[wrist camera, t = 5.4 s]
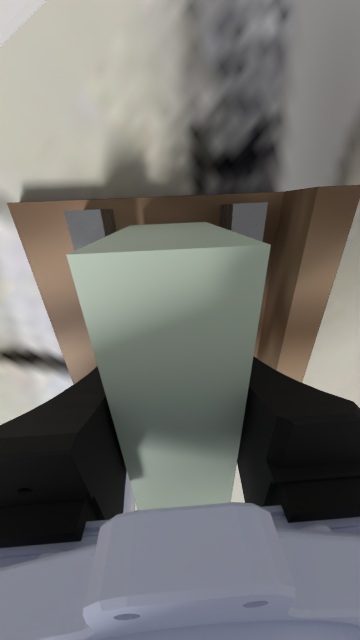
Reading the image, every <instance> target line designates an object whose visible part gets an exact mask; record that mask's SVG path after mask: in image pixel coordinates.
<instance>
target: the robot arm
mask: <svg viewBox="0 0 360 640" xmlns="http://www.w3.org/2000/svg"><path fill="white" fill-rule="evenodd" d="M237 464H238V469H239V474H240V478H241V483H242V489H243V494H244V499H245V503H237V502H231V503H219V504H207V505H195V506H183V507H171V508H159V509H147V510H136V511H135V503H136V501H135V497H134V494H133V490H132V487H131V483H130V480H129V476H128V473H127V469H126V465H125V462H124V458H123V455H122V451H121V448H120V444H119V441H118V437H117V433H116V430H115V426H114V423H113V419H112V416H111V412H110V409H109V405H108V401H107V398H106V394H105V391H104V387H103V384H102V380H101V377H100V373H99V369H98V366H97V367H96V368H95V369H93V370H92V371H91V372H90V373H89V374H87V375H86V376H85V377H83V378H82V379H81V380H80V381H78V382H77V383H75V384H74V385H72V386H71V387H69V388H68V389H66V390H65V391H63V392H62V393H60V394H59V395H57V396H56V397H54V398H52V399H51V400H49V401H47V402H46V403H44V404H42V405H40V406H38V407H36V408H35V409H33V410H31V411H29V412H27V413H25V414H23V415H21V416H19V417H17V418H15V419H13V420H10V421H8V422H6V423H4V424H2V425H0V640H360V408H359V407H358V406H357V405H356V404H355V403H354V402H353V401H350V400H347V399H344V398H341V397H338V396H335V395H332V394H329V393H326V392H323V391H320V390H318V389H315V388H313V387H310V386H308V385H306V384H303V383H301V382H299V381H296V380H294V379H292V378H290V377H288V376H286V375H284V374H282V373H280V372H278V371H277V370H275V369H273V368H271V367H270V366H268V365H266V364H265V363H263V362H262V361H260V360H259V359H257V358H256V357H254V356H253V362H252V369H251V375H250V382H249V388H248V394H247V401H246V407H245V414H244V420H243V426H242V433H241V439H240V446H239V452H238V458H237Z"/></svg>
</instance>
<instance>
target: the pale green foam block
mask: <svg viewBox="0 0 360 640" xmlns="http://www.w3.org/2000/svg"><path fill="white" fill-rule="evenodd" d="M270 247H271V245H270V244H267V243H264V242H261V241H258V240H256V239H253V238H250V237H247V236H244V235H241V234H239V233H236V232H233V231H230V230H227V229H224V228H222V227H219V226H216V225H213V224H210V223H207V222H194V223H171V224H149V225H130V226H128V227H126V228H123V229H121V230H119V231H117V232H115V233H112V234H110V235H108V236H106V237H104V238H102V239H99V240H97V241H95V242H93V243H91V244H88V245H86V246H84V247H82V248H80V249H78V250H75V251H73V252H71V253H69V254H67V255H66V256H67V259H68V263H69V266H70V270H71V273H72V277H73V281H74V284H75V288H76V291H77V295H78V298H79V302H80V305H81V309H82V313H83V316H84V320H85V323H86V327H87V330H88V334H89V337H90V341H91V345H92V348H93V352H94V355H95V359H96V362H97V366H98V369H99V373H100V377H101V380H102V384H103V387H104V391H105V394H106V398H107V401H108V405H109V409H110V412H111V416H112V419H113V423H114V426H115V430H116V433H117V437H118V441H119V444H120V448H121V451H122V455H123V458H124V462H125V465H126V469H127V473H128V476H129V480H130V483H131V487H132V490H133V494H134V497H135V501H136V505H137V508H138V510H147V509H159V508H171V507H183V506H195V505H207V504H219V503H231V497H232V490H233V484H234V478H235V471H236V465H237V458H238V452H239V446H240V439H241V433H242V426H243V420H244V414H245V407H246V401H247V394H248V388H249V382H250V375H251V369H252V362H253V356H254V350H255V343H256V337H257V330H258V324H259V318H260V311H261V305H262V298H263V292H264V286H265V279H266V273H267V266H268V260H269V254H270Z"/></svg>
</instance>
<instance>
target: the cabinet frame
mask: <svg viewBox="0 0 360 640" xmlns="http://www.w3.org/2000/svg"><path fill="white" fill-rule="evenodd" d="M359 199H360V185H351V186H326V187H314V188H307V189H300V190H293V191H286V192H265V193H240V194H215V195H190V196H166V197H141V198H116V199H91V200H67V201H42V202H17V203H7V204H8V207H9V210H10V212H11V215H12V218H13V221H14V223H15V226H16V229H17V231H18V234H19V237H20V240H21V242H22V245H23V248H24V250H25V253H26V256H27V259H28V261H29V264H30V267H31V270H32V272H33V275H34V278H35V280H36V283H37V286H38V289H39V291H40V294H41V297H42V299H43V302H44V305H45V308H46V310H47V313H48V316H49V318H50V321H51V324H52V327H53V329H54V332H55V335H56V338H57V340H58V343H59V346H60V348H61V351H62V354H63V357H64V359H65V362H66V365H67V367H68V370H69V373H70V376H71V378H72V381H73V384H75V383H77V382H78V381H80V380H81V379H82V378H83V377H85V376H86V375H87V374H89V373H90V372H91V371H92V370H93V369H95V368H96V367H97V362H96V359H95V355H94V352H93V348H92V345H91V341H90V337H89V334H88V330H87V327H86V323H85V320H84V316H83V313H82V309H81V305H80V302H79V298H78V295H77V291H76V288H75V284H74V281H73V277H72V273H71V270H70V266H69V263H68V259H67V256H66V255H67V254H69V253H71V252H73V251H75V250H78V249H80V248H82V247H84V246H86V245H88V244H91V243H93V242H95V241H97V240H99V239H102V238H104V237H106V236H108V235H110V234H112V233H115V232H117V231H119V230H121V229H123V228H126V227H128V226H130V225H149V224H171V223H194V222H207V223H210V224H213V225H216V226H219V227H222V228H224V229H227V230H230V231H233V232H236V233H239V234H241V235H244V236H247V237H250V238H253V239H256V240H258V241H261V242H264V243H267V244H270V245H271V247H270V254H269V260H268V266H267V273H266V279H265V286H264V292H263V298H262V305H261V311H260V318H259V324H258V330H257V337H256V343H255V350H254V357H256V358H257V359H259V360H260V361H262V362H263V363H265V364H266V365H268V366H270V367H271V368H273V369H275V370H277V371H278V372H280V373H282V374H284V375H286V376H288V377H290V378H292V379H294V380H296V381H299V382H301V383H302V381H303V378H304V375H305V372H306V368H307V365H308V362H309V359H310V356H311V352H312V349H313V346H314V343H315V340H316V336H317V333H318V330H319V327H320V324H321V320H322V317H323V314H324V311H325V308H326V305H327V301H328V298H329V295H330V292H331V289H332V285H333V282H334V279H335V276H336V273H337V269H338V266H339V263H340V260H341V257H342V253H343V250H344V247H345V244H346V241H347V237H348V234H349V231H350V228H351V225H352V221H353V218H354V215H355V212H356V209H357V205H358V202H359Z"/></svg>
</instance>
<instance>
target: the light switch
mask: <svg viewBox="0 0 360 640" xmlns="http://www.w3.org/2000/svg"><path fill="white" fill-rule="evenodd" d="M46 1H47V0H0V47H1V46H2V45H3V44H4V43H5V42H6V41H7V40H8V39H9V38H10V37H11V36H12V35H13V34H14V33H15V32H16V31H17V30H18V29H19V28H20V27H21V26H22V25H23V24H24V23H25V22H26V21H27V20H28V19H29V18H30V17H31V16H32V15H33V14H34V13H35V12H36V11H37V10H38V9H39V8H40V7H41V6H42V5H43V4H44V3H45V2H46Z"/></svg>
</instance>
